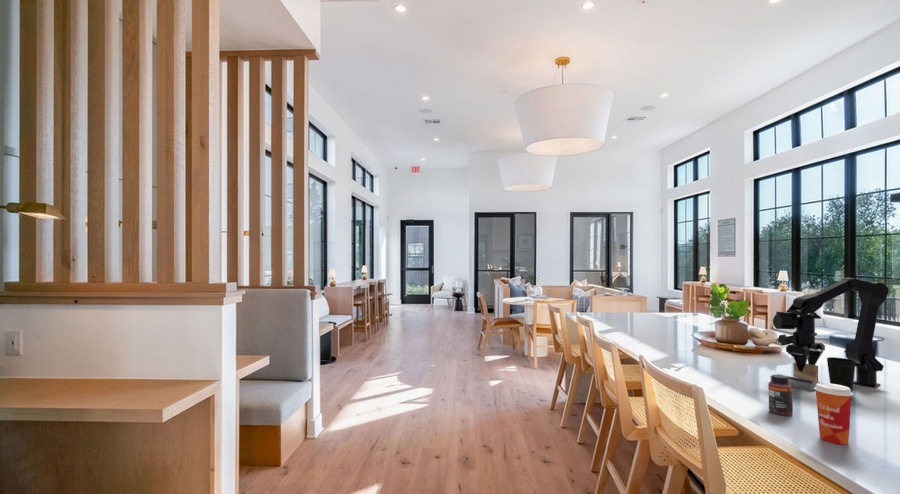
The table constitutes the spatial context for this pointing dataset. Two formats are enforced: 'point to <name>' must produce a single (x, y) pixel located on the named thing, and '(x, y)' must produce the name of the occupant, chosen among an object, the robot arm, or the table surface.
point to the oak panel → (807, 372)
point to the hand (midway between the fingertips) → (806, 369)
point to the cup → (841, 371)
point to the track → (801, 383)
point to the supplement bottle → (780, 396)
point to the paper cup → (833, 412)
